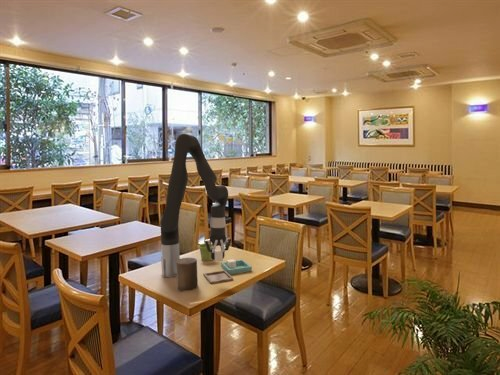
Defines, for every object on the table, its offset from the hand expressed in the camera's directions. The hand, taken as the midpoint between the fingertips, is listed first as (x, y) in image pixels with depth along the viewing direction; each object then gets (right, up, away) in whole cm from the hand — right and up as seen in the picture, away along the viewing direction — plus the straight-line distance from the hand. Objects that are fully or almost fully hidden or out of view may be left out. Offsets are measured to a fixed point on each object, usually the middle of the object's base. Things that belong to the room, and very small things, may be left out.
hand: (217, 258), depth 177 cm
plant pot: (-10, -8, +35) cm, 37 cm away
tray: (0, -11, +5) cm, 12 cm away
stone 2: (+6, -9, +16) cm, 19 cm away
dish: (+9, -9, +17) cm, 21 cm away
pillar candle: (-14, -13, -6) cm, 20 cm away
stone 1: (0, -1, 0) cm, 1 cm away
